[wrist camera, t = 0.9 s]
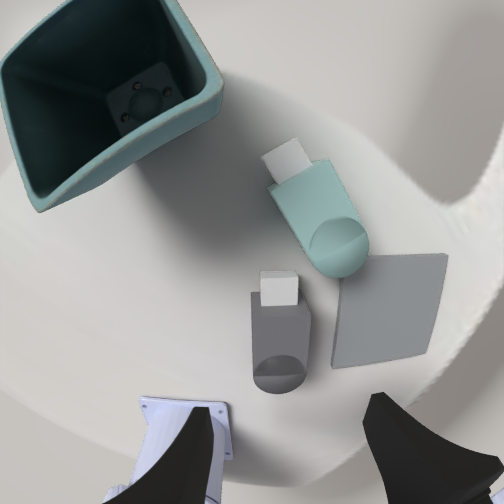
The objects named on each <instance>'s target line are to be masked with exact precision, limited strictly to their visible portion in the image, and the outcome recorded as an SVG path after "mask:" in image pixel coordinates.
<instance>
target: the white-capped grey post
mask: <svg viewBox="0 0 504 504" xmlns="http://www.w3.org/2000/svg"><path fill="white" fill-rule="evenodd" d="M251 316H252V353H253V379H254V382H255V384H256V385H257V387H258V388H260V389H261V390H263V391H265V392H267V393H271V394H283V393H287V392H290V391H292V390H294V389H296V388H297V387H299V386H300V385H301V384H302V383H303V381H304V379H305V377H306V371H307V361H308V351H309V340H310V328H311V313H310V310H309V308H308V306H307V303H306V301H305V299H304V296H303V294H302V292H301V290H298V275H297V273H296V271H265V272H260V292H251Z"/></svg>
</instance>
